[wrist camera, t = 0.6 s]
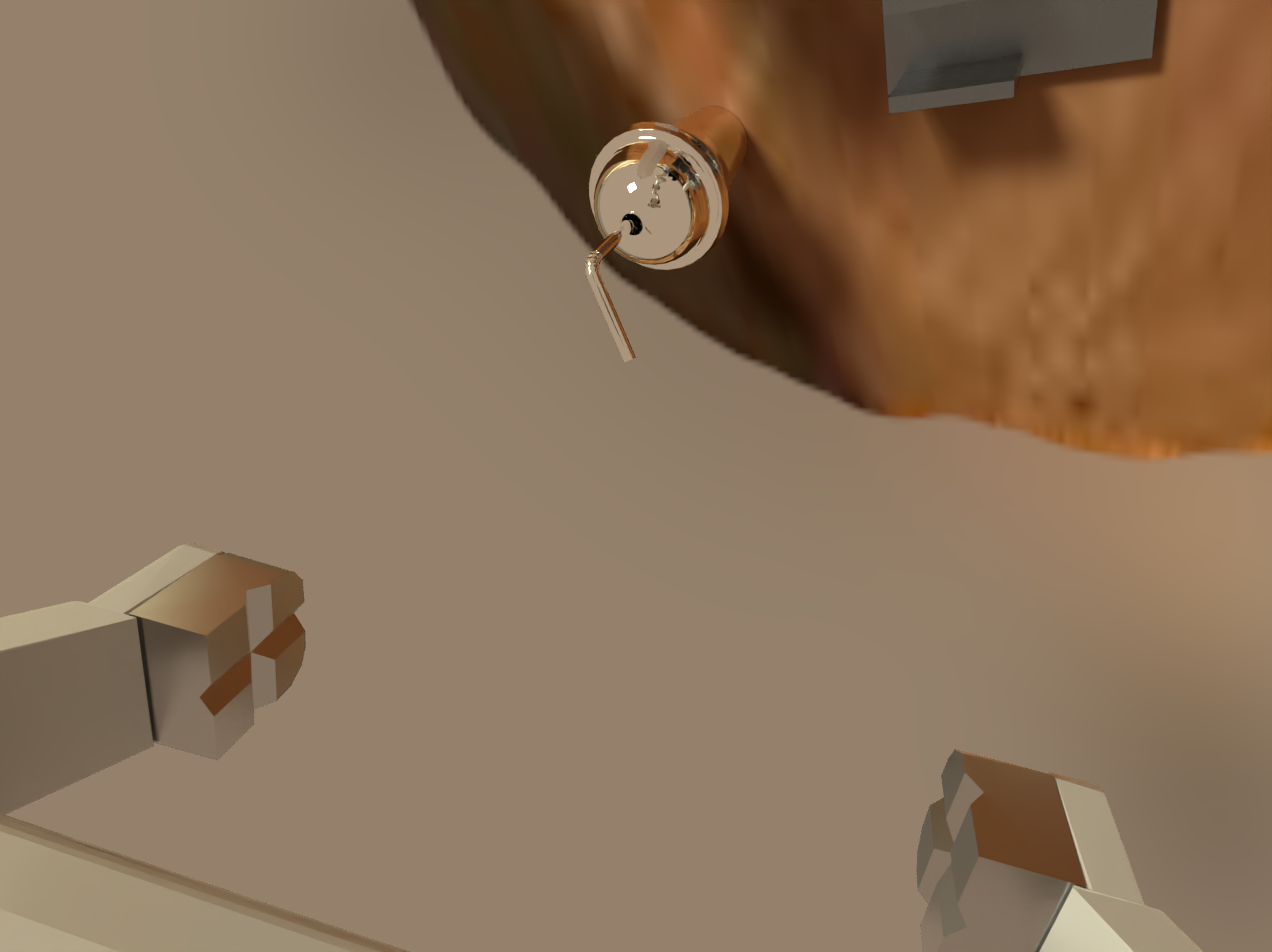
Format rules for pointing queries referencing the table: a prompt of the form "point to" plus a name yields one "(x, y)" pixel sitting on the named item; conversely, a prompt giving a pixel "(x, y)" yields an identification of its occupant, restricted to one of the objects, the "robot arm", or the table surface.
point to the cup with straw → (662, 196)
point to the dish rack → (1002, 44)
